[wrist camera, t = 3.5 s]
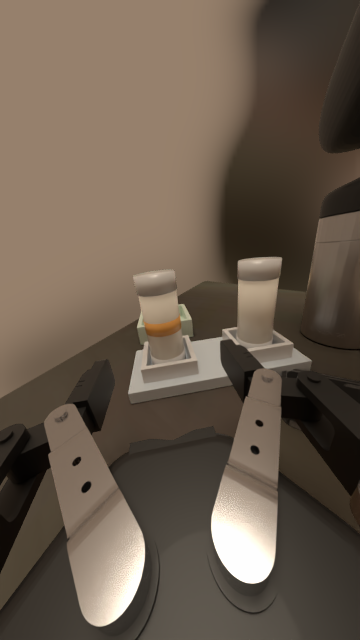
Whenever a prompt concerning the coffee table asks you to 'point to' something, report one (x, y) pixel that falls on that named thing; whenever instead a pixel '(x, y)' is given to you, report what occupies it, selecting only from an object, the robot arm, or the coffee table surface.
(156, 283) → the cylinder
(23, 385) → the coffee table surface
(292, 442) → the coffee table surface
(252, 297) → the cylinder
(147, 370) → the fuse board
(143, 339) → the tray
